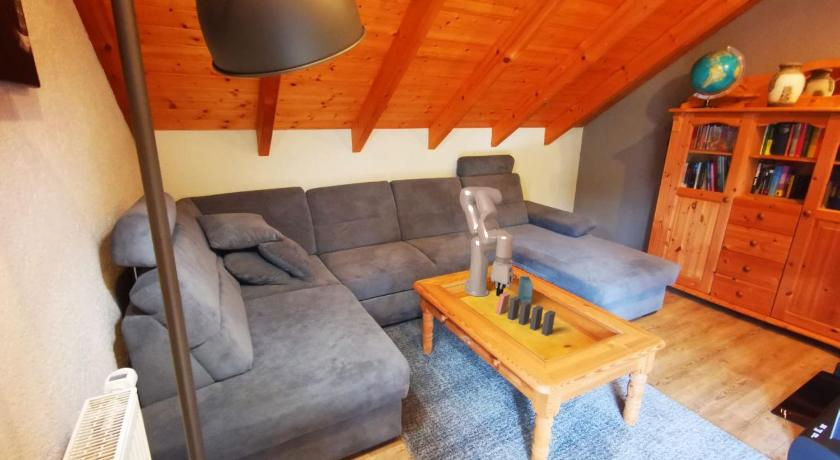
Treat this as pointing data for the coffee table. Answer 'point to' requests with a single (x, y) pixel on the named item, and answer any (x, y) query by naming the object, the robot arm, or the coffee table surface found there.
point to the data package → (525, 289)
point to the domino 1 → (502, 303)
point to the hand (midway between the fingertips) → (499, 295)
